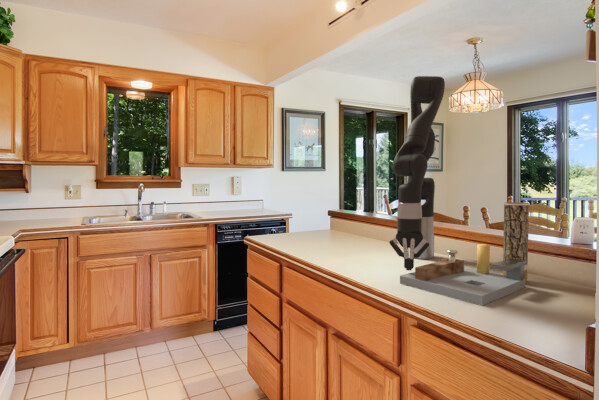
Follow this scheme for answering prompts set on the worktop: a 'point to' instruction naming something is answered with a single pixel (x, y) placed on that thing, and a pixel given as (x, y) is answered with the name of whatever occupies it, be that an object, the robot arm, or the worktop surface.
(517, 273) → the keeper
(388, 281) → the worktop surface
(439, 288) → the board
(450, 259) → the pintle
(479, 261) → the pin
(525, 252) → the brown bark-textured cylinder
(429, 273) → the link
